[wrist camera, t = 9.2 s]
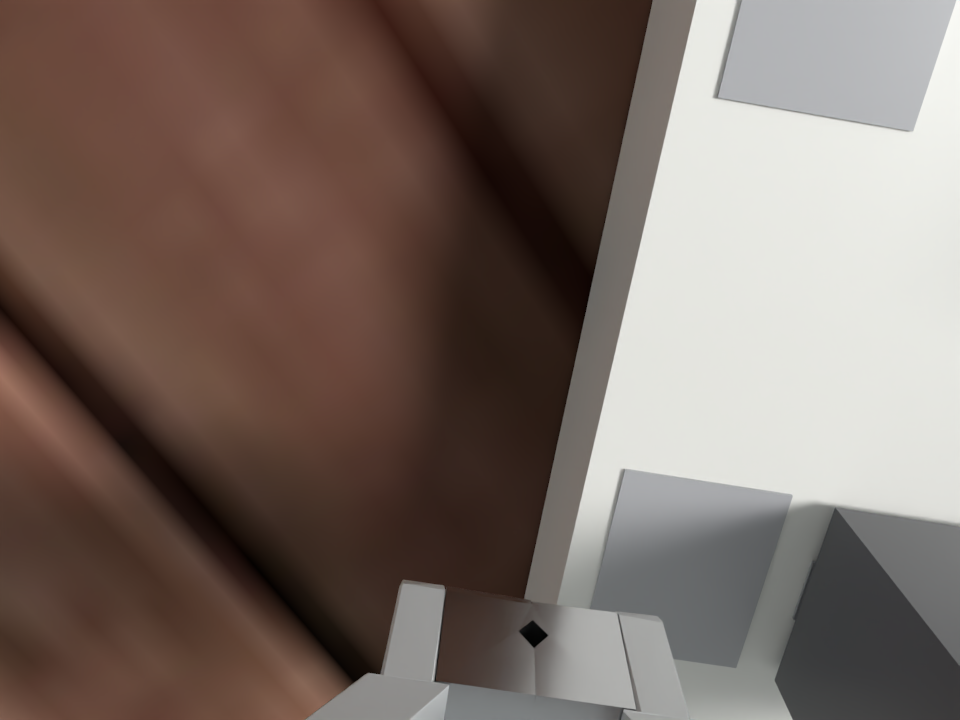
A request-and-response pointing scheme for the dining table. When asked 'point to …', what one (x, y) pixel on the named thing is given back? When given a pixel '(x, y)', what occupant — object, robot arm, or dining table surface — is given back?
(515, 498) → the dining table surface
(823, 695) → the block
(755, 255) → the breaker panel
